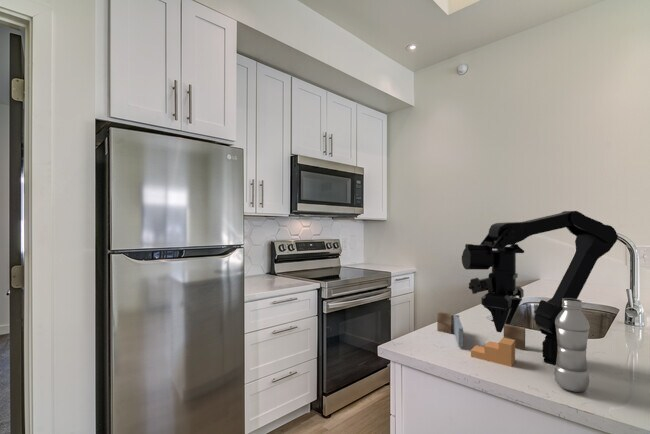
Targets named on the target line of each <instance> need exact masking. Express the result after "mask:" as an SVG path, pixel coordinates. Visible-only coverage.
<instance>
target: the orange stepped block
mask: <svg viewBox="0 0 650 434" xmlns="http://www.w3.org/2000/svg"><path fill="white" fill-rule="evenodd" d="M470 358H475V359H478V360H483V361H486V362H491V363H494V364H498V365H502V366H506V367H512V366H513V364H514V363H515V362H516V348H515V340H513V339H508V338H504V337H502V338H501V339H500V341H498V342H494V341H491V340H488V342H487V343H486V344H485V345H484V346H481V345H474V347H472V349H470Z"/></svg>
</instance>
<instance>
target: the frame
mask: <svg viewBox="0 0 650 434" xmlns="http://www.w3.org/2000/svg"><path fill="white" fill-rule="evenodd" d="M453 315H454V314H453V313H447V312H441V311H438V312H437V328H436V330H437V332H441V333H442V332H443V333H445V334H451V335H452V334H454V333H453ZM503 338H508V339H513V340H515V349H518V350H522V351H525V349H526V327H523V326H517V325H511V324H506V323H505V325H504V327H503Z"/></svg>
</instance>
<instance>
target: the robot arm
mask: <svg viewBox="0 0 650 434" xmlns="http://www.w3.org/2000/svg"><path fill="white" fill-rule="evenodd" d="M565 228H566V229H567V230H568V232H569V233H571V234H572V235H573V236H576V237H575V240H574V242H575V253H574V255H573V257H572V259H571V261H570V263H569V265H568V267H567V269H566V271H565V273H564V275H563V276H562V279H561V281H559V284H558V287H557V288H556V290H555V292H554V294H553V296H552V298H550V299H548V300H547V301H546V300H544V299H541V300H540V301H539V302H538V303H539V304H538V305H537V308H536V309H535V310H534V311H533V313H535V314H534V321H535V324H536V326H537V327H538V328H539V330H540V333H541V334H542V335H545V337H544V338H545V339H544V340H543V341H542V358H543V362H544V363H548V364H553V365H556V361H557V352H558V347H557V346H558V344H557V333H556V327H555V326H556V325H555V319H556V317H557V316H558V314H559V313H560V312H561V311H562V310H563V307H562V299H563V298H572V299H578V298H579V297H580V294H581V292H582V290H583V288H584V287H585V286H586V282H587V281H588V279H589V276H590V274H591V272H592V271H593V269H594V267H595V266H596V263H597V261H598V260H599V259H600V258H601V257H602V256H604V255H606V254H607V253H609V252H610V250H611V249H612V248H613V247H614V245H615V244H616V242H617V241H618V237H619V235H618V234H617V231H616V229H615V228H614V227H613V226H612V225H609V224H604V223H602V222H601V221H598V220H596V219H594V218H591V217H589V216H587V215H585V214H583V213H581V212H580V211H577V210H564V211H561V212H559V213H555V214H551V215H547V216H542V217H538V218H534V219H528V220H524V221H512V222H511V221H510V222H508V221H507V222H496V223H494V224H491V225H490V227H489V229H488V233H487V235H486V236H485V237H484V239H483V240H482V241H481V243H480V244H472V243H471V244H470V243H466V244H465V245H464V246H465V248H464V249H463V251H462V255H461V264H462V266H463V269H465V270H475V271H476V270H479V271H480V270H484V271H485V270H489V269H491V272H490V273H488V277H485V278H481V279H479V277H475V278H472V279H470V282H468V289H469V290H471V293H472V295H476V294H478V293H481V292H485V291H486V292H487V293H485V294H484V295H483V296H481V300H480V301H481V305H482V306H483V308H484V309H487V310H488V311H489V312H490V314H491V317H492V320H493V324H494V327H495V330H496V333H502V332H503V331H504V325H505V324H507V325H511V323H512V321H513V319H514V317H515V315H516V312H517V311H518V308H519V306H520V304H521V302H522V301H523V298H524V292H525V291H524V289H523V288H522V287H521V286H520V285H519V286H518V285H517V284H516V283H517V282H516V281H517V278H518V273H517V272H516V271H517V266H516V264H517V263H516V262H517V259H516V257H517V255H516V254H525V250H524V249H523V248H522V247H520V245H519V244H518V243H520V242H523V241H524V240H526V239H527V238H529V237H531V236H533V235H538V234H542V233H546V232H551V231H556V230H560V229H565Z"/></svg>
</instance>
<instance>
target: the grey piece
mask: <svg viewBox="0 0 650 434" xmlns="http://www.w3.org/2000/svg"><path fill="white" fill-rule="evenodd" d="M452 334H454V336H455V340H456V343H457V345H458V347H459V348H463V347H464V328H463V325H462V323H461V320H460V315H458V314H453V333H452Z"/></svg>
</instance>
